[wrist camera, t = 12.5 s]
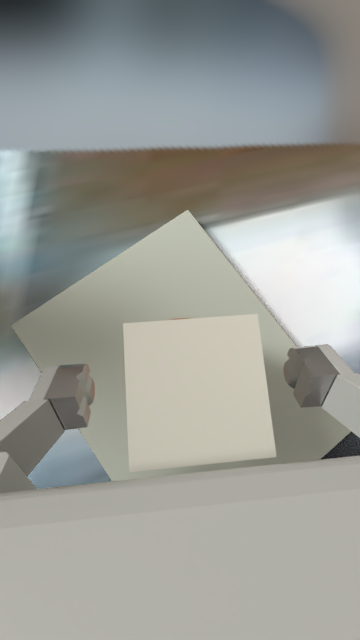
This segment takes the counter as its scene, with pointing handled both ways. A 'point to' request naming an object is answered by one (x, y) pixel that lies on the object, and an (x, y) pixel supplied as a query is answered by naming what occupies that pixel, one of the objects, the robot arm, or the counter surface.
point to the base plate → (158, 305)
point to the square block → (196, 392)
